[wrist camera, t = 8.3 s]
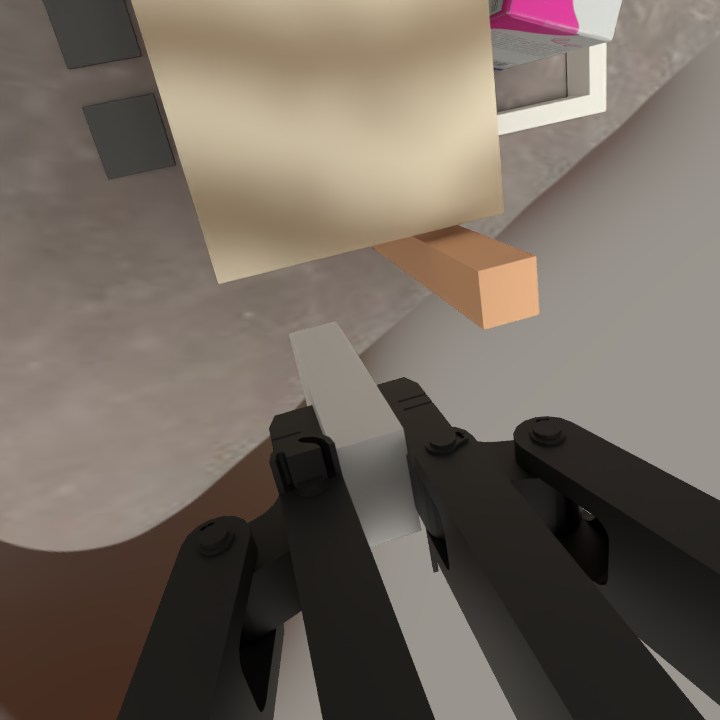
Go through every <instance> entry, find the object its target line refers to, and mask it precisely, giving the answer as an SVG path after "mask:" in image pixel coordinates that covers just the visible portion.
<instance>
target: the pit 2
mask: <svg viewBox="0 0 720 720" xmlns="http://www.w3.org/2000/svg"><path fill="white" fill-rule="evenodd" d="M82 109H83V111H84V114H85V117H86V120H87V122H88V125H89V128H90V131H91V133H92V136H93V139H94V142H95V144H96V147H97V150H98V152H99V155H100V158H101V161H102V163H103V166H104V169H105V172H106V174H107V177H108V180H109V179H113V178H118V177H123V176H127V175H132V174H137V173H141V172H146V171H151V170H155V169H160V168H165V167H169V166H174V165H175V162H174V158H173V155H172V152H171V149H170V145H169V142H168V139H167V136H166V133H165V129H164V126H163V123H162V120H161V117H160V113H159V110H158V107H157V104H156V101H155V97H154V94H149V95H144V96H139V97H134V98H129V99H124V100H118V101H113V102H108V103H103V104H98V105H93V106H88V107H83V108H82Z"/></svg>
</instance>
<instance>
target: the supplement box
mask: <svg viewBox="0 0 720 720" xmlns="http://www.w3.org/2000/svg"><path fill="white" fill-rule="evenodd" d="M621 2H622V0H488V3H489V16H490V29H491V43H492V56H493V69H496V70H500V71H501V70H503V69H506V68H510V67H513V66H517V65H521V64H524V63H528V62H532V61H536V60H540V59H544V58H548V57H552V56H556V55H560V54H564V53H568V52H571V51H575V50H579V49H582V48H586V47H590V46H594V45H598V44H602V43H606V42H610V41H611V40H612V38H613V35H614V30H615V26H616V22H617V18H618V14H619V10H620V6H621Z"/></svg>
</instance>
